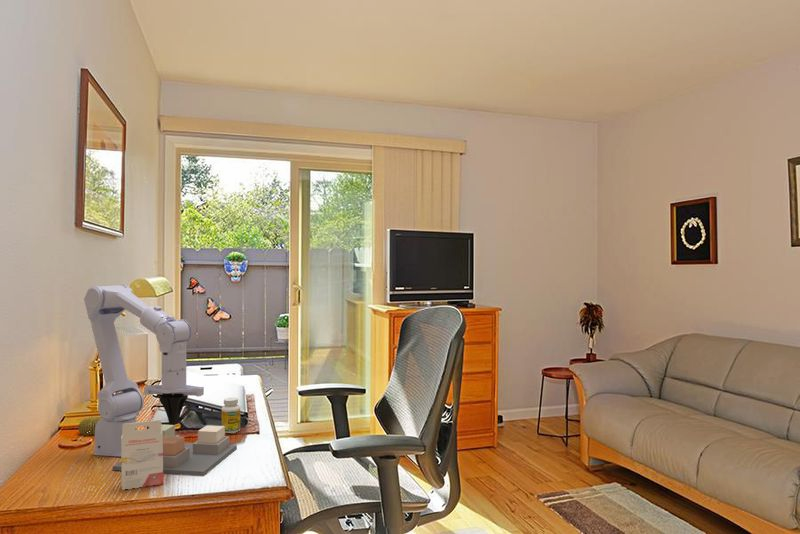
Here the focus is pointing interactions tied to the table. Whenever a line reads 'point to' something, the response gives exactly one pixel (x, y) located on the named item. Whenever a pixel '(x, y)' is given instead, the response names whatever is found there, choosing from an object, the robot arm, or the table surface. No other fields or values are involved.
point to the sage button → (168, 430)
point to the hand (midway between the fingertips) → (173, 423)
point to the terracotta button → (173, 445)
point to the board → (195, 458)
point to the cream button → (211, 434)
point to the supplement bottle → (231, 415)
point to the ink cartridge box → (141, 455)
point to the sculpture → (88, 426)
